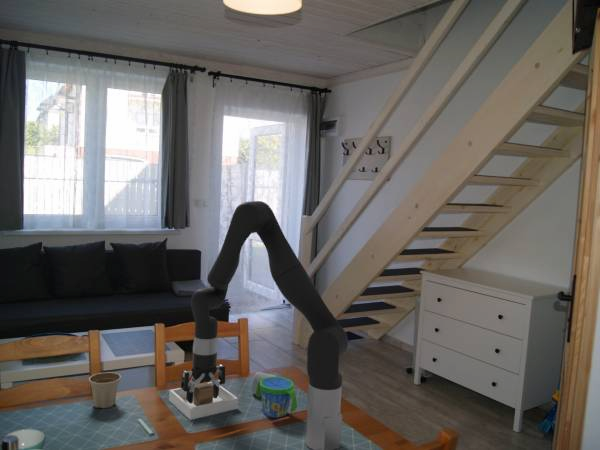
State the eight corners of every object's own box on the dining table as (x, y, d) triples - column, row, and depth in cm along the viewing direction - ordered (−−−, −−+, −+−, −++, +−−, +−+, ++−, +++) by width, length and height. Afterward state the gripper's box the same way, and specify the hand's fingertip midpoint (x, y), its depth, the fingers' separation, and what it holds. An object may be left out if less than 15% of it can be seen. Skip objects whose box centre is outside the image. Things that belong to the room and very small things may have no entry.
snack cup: (304, 418, 159) (306, 386, 159) (278, 428, 152) (280, 394, 151) (271, 401, 171) (273, 371, 170) (246, 409, 163) (248, 378, 163)
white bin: (237, 410, 162) (237, 398, 162) (190, 421, 153) (190, 408, 153) (213, 392, 175) (214, 381, 175) (169, 402, 166) (169, 390, 165)
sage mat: (183, 426, 149) (183, 425, 149) (149, 435, 144) (149, 433, 143) (169, 413, 157) (169, 412, 157) (137, 421, 152) (137, 419, 151)
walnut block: (212, 405, 164) (213, 387, 163) (199, 408, 161) (200, 389, 160) (206, 400, 167) (206, 382, 167) (193, 403, 164) (194, 385, 164)
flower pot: (81, 405, 159) (81, 378, 159) (105, 395, 168) (106, 370, 167) (102, 413, 155) (103, 385, 154) (126, 402, 163) (127, 376, 163)
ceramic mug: (274, 401, 171) (275, 378, 171) (250, 397, 173) (252, 375, 172) (281, 389, 182) (282, 368, 181) (259, 386, 183) (260, 365, 183)
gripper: (189, 357, 155) (186, 409, 157) (230, 350, 164) (228, 399, 165) (179, 349, 161) (176, 400, 163) (219, 343, 170) (217, 391, 171)
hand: (202, 399), depth 164 cm, fingers open, 8 cm apart
